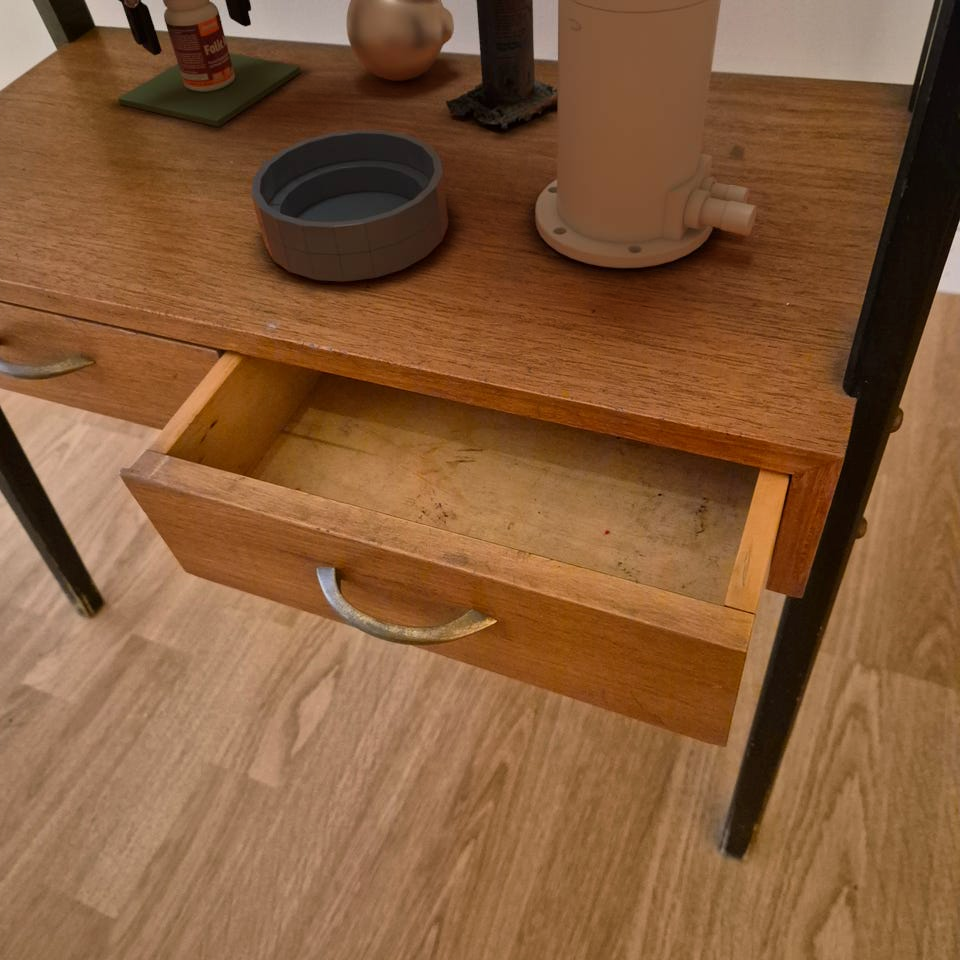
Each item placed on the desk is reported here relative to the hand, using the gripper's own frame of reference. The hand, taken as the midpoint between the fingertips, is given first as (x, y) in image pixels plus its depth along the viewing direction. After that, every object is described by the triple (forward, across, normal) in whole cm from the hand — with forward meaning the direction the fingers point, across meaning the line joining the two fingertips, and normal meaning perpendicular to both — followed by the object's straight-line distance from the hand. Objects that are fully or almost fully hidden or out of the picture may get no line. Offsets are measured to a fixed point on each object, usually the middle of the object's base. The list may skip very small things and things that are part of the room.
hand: (197, 35), depth 79 cm
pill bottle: (+4, 0, 0) cm, 4 cm away
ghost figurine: (+5, +15, -11) cm, 19 cm away
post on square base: (+5, +18, -23) cm, 29 cm away
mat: (+5, 0, 0) cm, 5 cm away
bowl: (+5, -3, -31) cm, 31 cm away
